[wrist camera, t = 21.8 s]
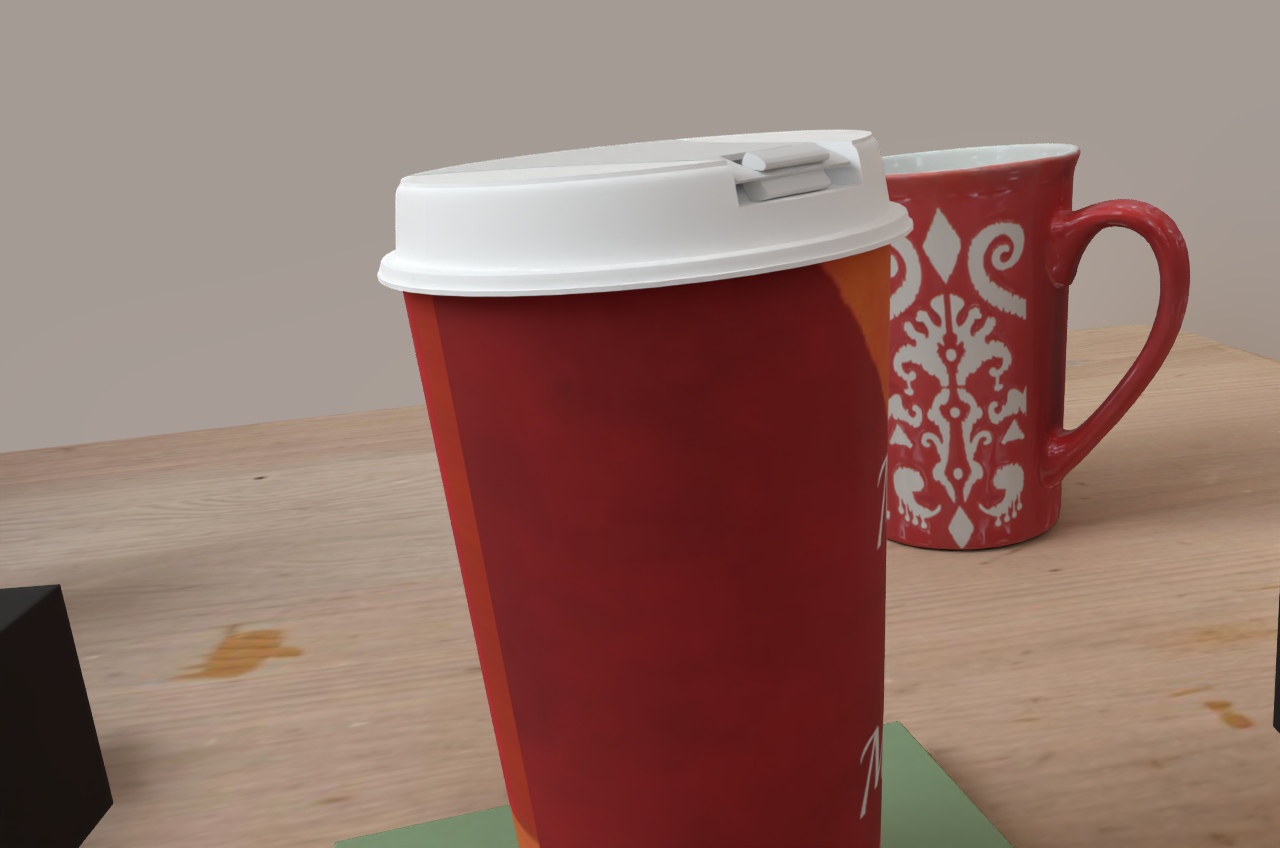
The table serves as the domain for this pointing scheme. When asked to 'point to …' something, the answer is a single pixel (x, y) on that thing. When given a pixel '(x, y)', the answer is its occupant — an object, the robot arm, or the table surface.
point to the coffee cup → (668, 476)
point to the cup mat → (910, 817)
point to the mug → (998, 339)
